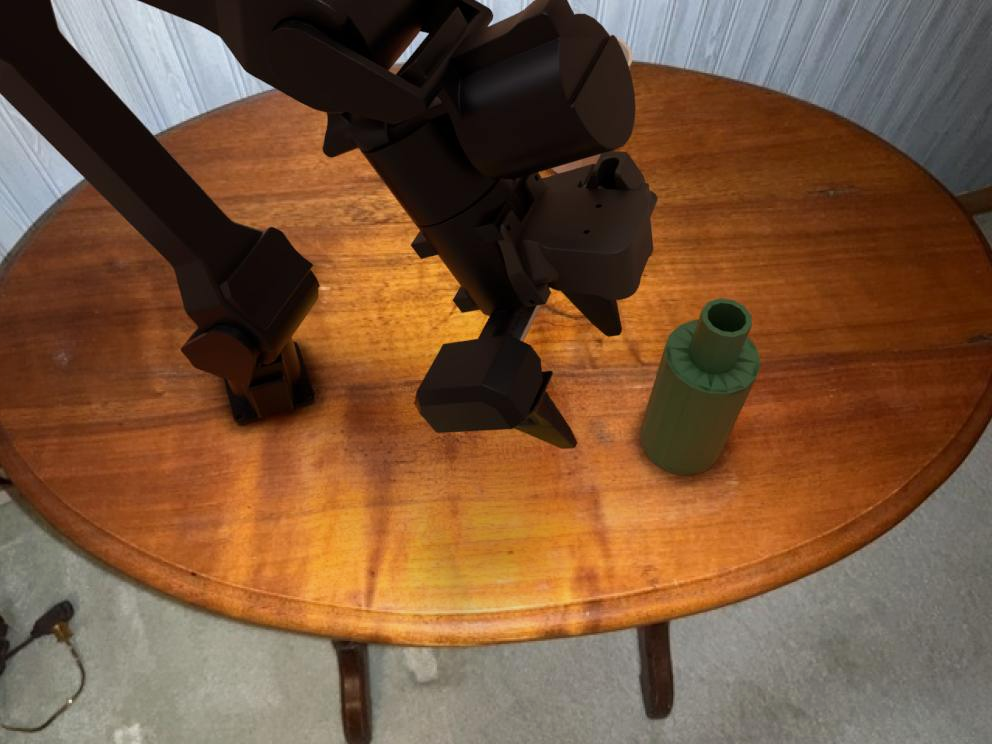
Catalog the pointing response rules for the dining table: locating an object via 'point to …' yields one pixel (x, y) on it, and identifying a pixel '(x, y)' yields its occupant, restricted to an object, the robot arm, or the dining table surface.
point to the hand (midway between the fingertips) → (593, 387)
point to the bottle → (700, 389)
